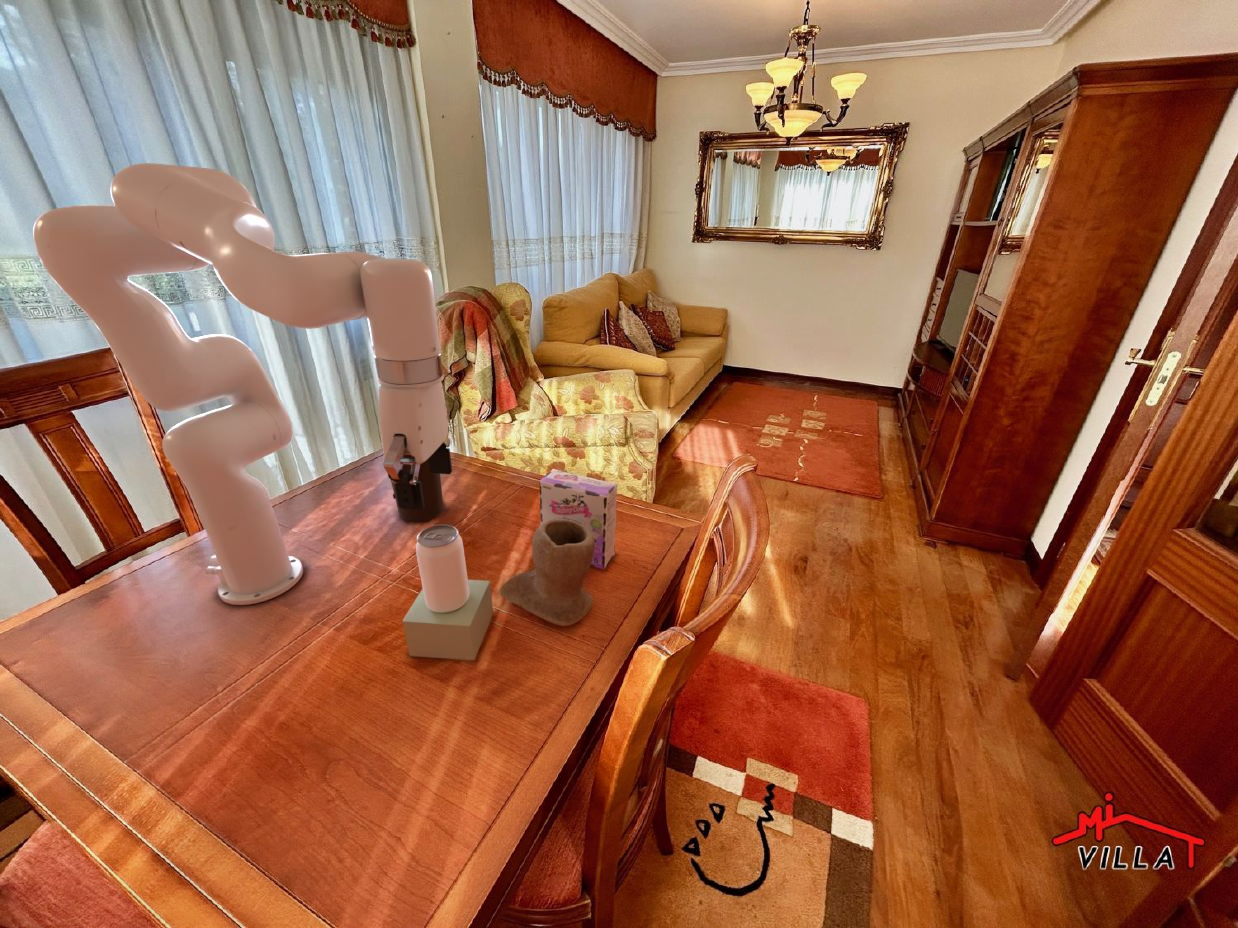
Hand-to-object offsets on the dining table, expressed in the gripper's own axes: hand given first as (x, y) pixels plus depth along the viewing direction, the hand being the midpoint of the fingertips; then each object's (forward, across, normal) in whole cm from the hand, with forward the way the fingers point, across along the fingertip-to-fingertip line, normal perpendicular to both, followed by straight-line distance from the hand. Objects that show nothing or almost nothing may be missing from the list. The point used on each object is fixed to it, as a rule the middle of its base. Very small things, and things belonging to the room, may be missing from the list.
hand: (427, 489), depth 69 cm
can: (+19, +1, +1) cm, 19 cm away
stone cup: (+26, -9, +16) cm, 32 cm away
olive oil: (+27, -34, -19) cm, 47 cm away
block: (+26, +1, +1) cm, 26 cm away
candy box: (+26, -22, +18) cm, 39 cm away
